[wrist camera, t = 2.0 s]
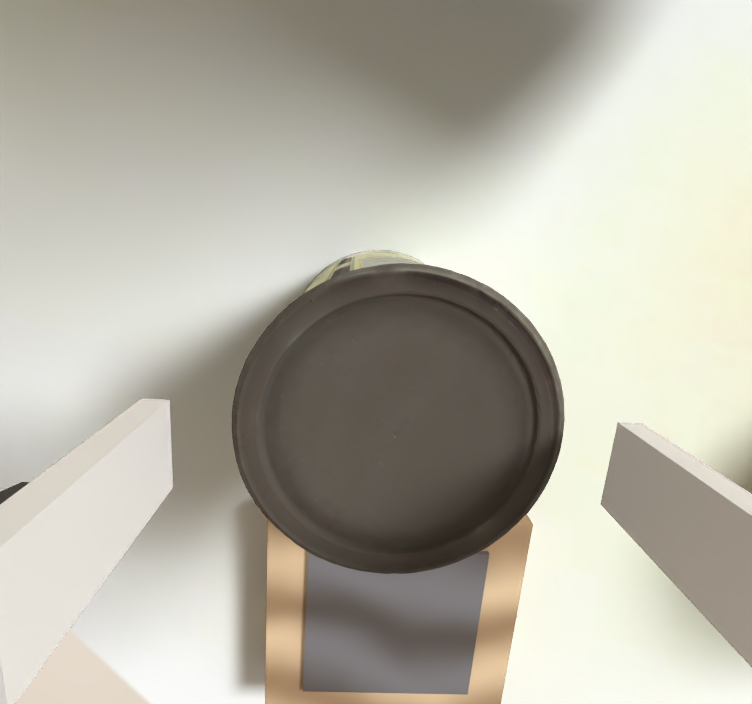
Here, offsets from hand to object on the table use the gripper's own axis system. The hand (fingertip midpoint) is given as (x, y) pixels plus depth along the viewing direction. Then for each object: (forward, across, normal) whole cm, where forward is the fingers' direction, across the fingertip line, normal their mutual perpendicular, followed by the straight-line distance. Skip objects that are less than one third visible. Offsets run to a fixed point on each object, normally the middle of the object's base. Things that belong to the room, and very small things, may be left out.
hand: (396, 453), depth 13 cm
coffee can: (+15, 0, 0) cm, 15 cm away
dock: (+15, +2, -18) cm, 23 cm away
